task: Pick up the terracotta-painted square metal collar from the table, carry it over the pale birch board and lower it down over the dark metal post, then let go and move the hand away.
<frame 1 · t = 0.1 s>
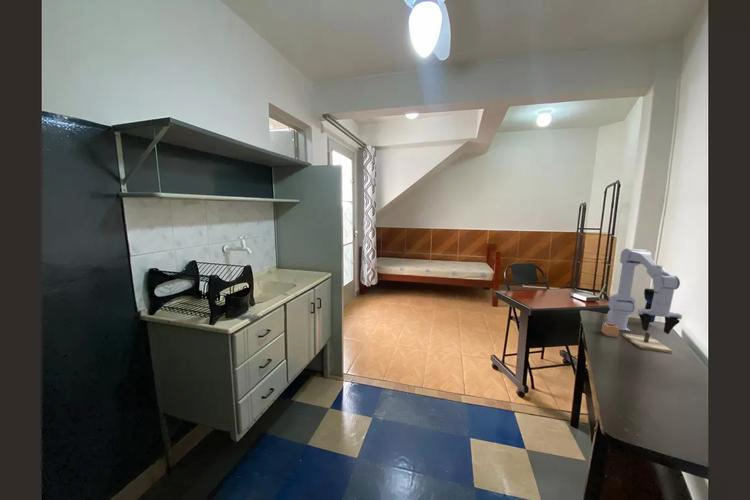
hand: (655, 331, 123), 10 cm above the table, tool pointing down, fingers open, 7 cm apart
square collar: (609, 334, 142), on the table
post board: (645, 343, 133), on the table
flashlight: (647, 324, 157), on the table
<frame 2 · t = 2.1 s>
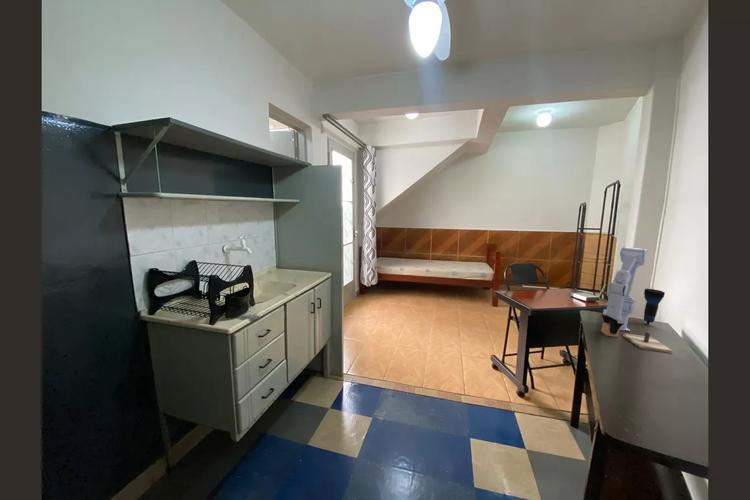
hand: (610, 331, 142), 2 cm above the table, tool pointing down, fingers closed on square collar, 5 cm apart
square collar: (609, 334, 142), on the table, touching gripper
everything else where it was.
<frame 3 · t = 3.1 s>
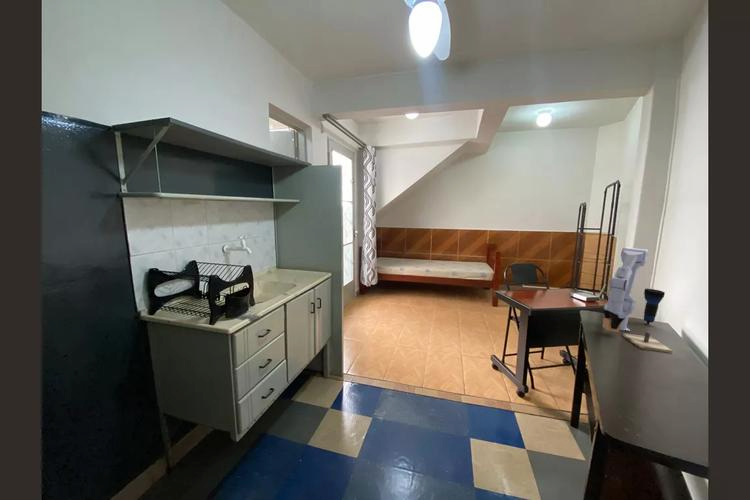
hand: (611, 326, 142), 4 cm above the table, tool pointing down, fingers closed on square collar, 5 cm apart
square collar: (610, 329, 142), point 3 cm above the table, touching gripper
everything else where it was.
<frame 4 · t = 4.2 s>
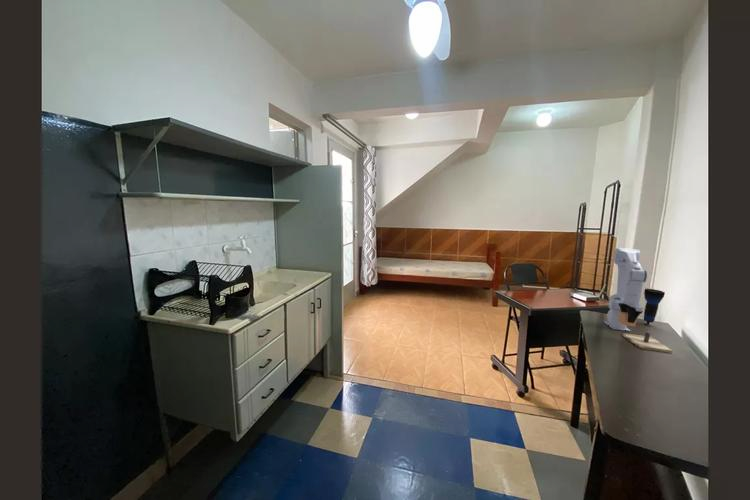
hand: (627, 320, 137), 9 cm above the table, tool pointing down, fingers closed on square collar, 5 cm apart
square collar: (626, 323, 137), point 7 cm above the table, touching gripper
everything else where it was.
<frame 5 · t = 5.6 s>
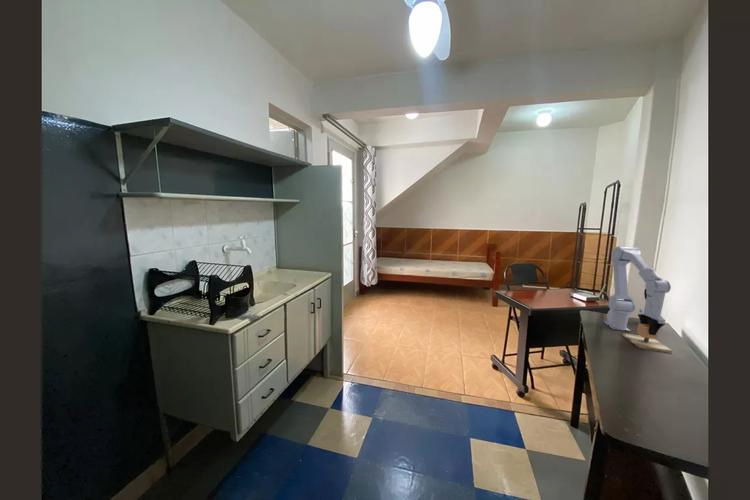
hand: (648, 332, 132), 6 cm above the table, tool pointing down, fingers closed on square collar, 5 cm apart
square collar: (646, 335, 133), point 4 cm above the table, touching gripper
everything else where it was.
when the fingers open (4 cm above the table, at t = 6.5 s): square collar drops 1 cm, resting on post board.
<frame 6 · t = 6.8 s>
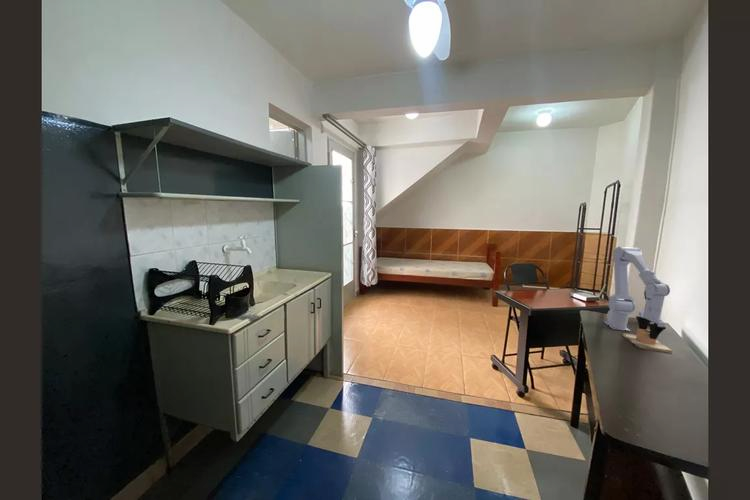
hand: (647, 335, 133), 4 cm above the table, tool pointing down, fingers open, 7 cm apart
square collar: (645, 341, 133), point 1 cm above the table, touching post board
everything else where it was.
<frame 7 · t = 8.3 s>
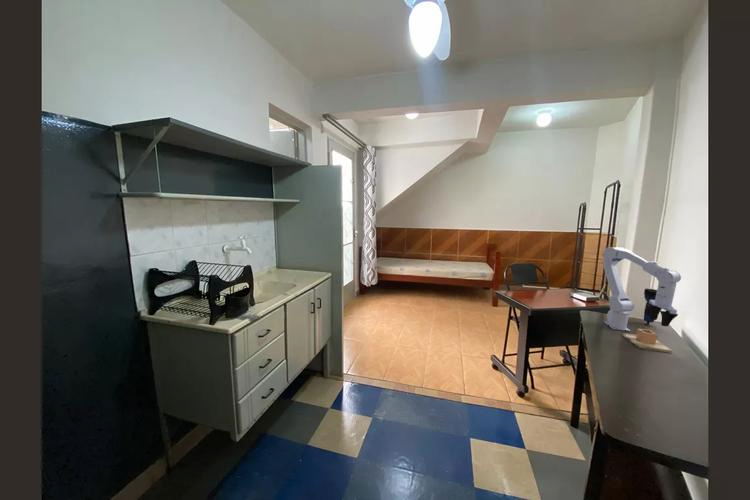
hand: (658, 322, 134), 10 cm above the table, tool pointing down, fingers open, 7 cm apart
nothing on the table moved.
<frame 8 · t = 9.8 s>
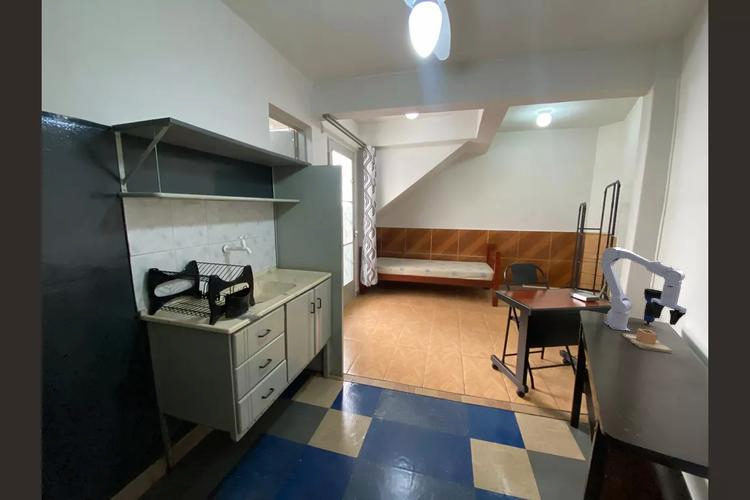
hand: (664, 321, 135), 10 cm above the table, tool pointing down, fingers open, 7 cm apart
nothing on the table moved.
at the end: square collar 0.3 cm off-centre on the post board, point 1.2 cm above the post board's base; square collar tilted 0°; the gripper is holding nothing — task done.
